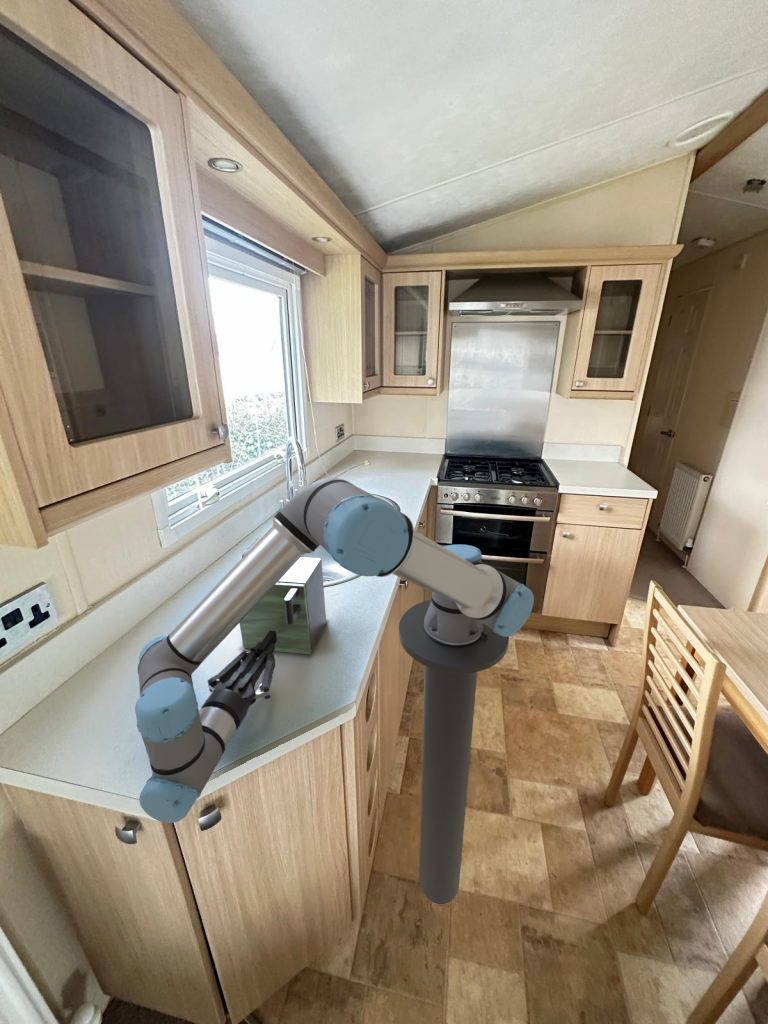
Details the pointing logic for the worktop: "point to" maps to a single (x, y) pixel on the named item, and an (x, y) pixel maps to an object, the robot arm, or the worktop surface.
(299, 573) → the cupboard
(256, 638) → the door
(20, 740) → the worktop surface
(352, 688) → the worktop surface
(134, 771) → the worktop surface
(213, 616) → the robot arm
